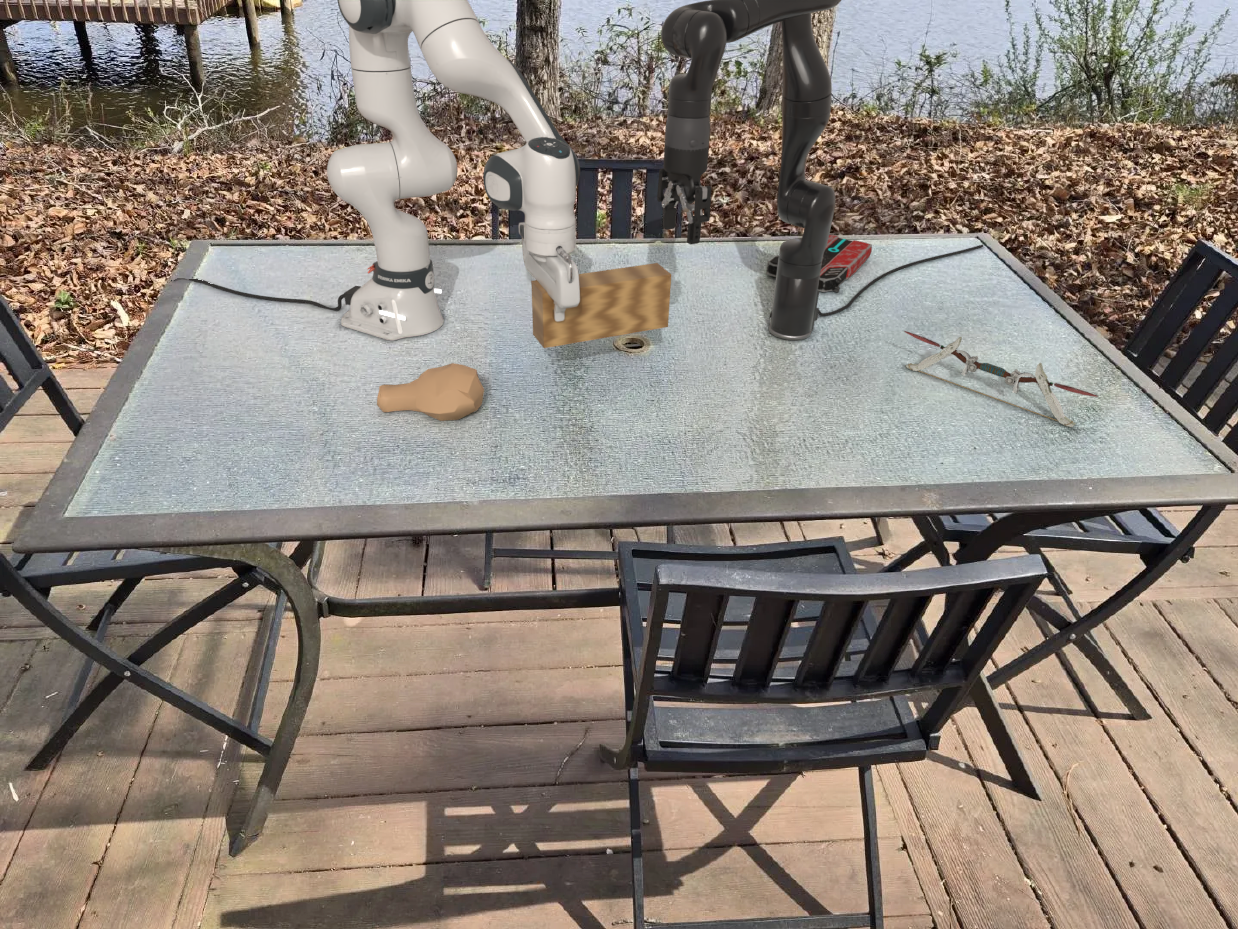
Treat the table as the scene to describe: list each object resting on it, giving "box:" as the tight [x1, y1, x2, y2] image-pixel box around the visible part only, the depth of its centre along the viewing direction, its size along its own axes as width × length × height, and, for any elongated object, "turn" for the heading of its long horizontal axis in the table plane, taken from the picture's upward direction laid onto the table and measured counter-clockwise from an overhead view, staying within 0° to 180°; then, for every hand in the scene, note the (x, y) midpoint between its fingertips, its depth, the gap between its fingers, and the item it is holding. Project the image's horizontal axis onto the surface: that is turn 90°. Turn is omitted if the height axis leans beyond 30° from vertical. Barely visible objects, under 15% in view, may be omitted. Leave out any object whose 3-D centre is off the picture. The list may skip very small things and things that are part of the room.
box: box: [530, 262, 672, 349], centre depth 164 cm, size 25×6×11 cm, turn 114°
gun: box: [765, 233, 873, 293], centre depth 228 cm, size 4×31×19 cm
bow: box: [903, 330, 1099, 428], centre depth 171 cm, size 39×2×10 cm, turn 47°
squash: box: [376, 362, 485, 422], centre depth 161 cm, size 11×20×9 cm, turn 90°
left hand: (551, 311), depth 160 cm, fingers closed on box, 6 cm apart
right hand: (680, 235), depth 157 cm, fingers open, 8 cm apart
